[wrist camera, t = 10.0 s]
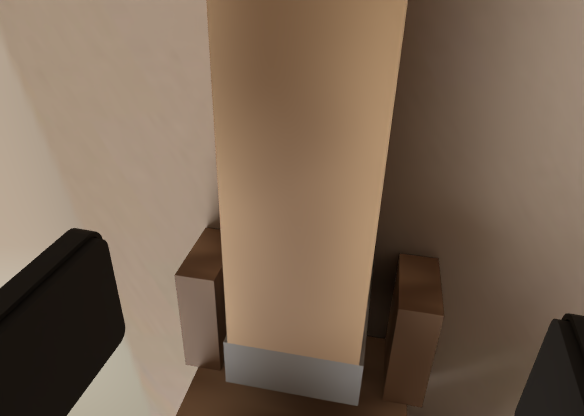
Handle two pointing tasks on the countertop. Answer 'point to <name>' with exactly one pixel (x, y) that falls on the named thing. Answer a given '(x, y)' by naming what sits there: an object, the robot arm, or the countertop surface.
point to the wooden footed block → (294, 408)
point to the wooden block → (301, 183)
